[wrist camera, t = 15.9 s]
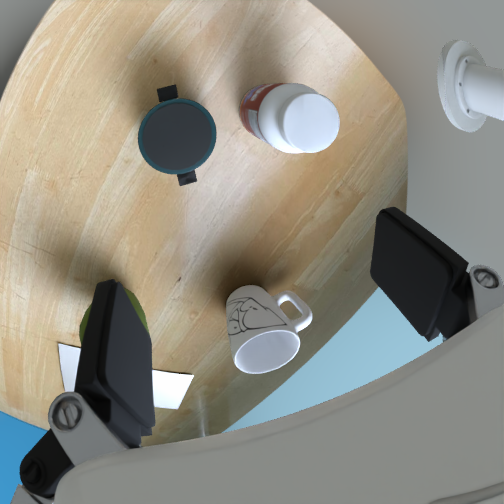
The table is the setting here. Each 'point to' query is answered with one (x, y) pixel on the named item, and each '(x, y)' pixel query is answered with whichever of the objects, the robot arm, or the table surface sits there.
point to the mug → (263, 328)
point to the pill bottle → (290, 117)
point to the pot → (177, 135)
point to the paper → (164, 384)
